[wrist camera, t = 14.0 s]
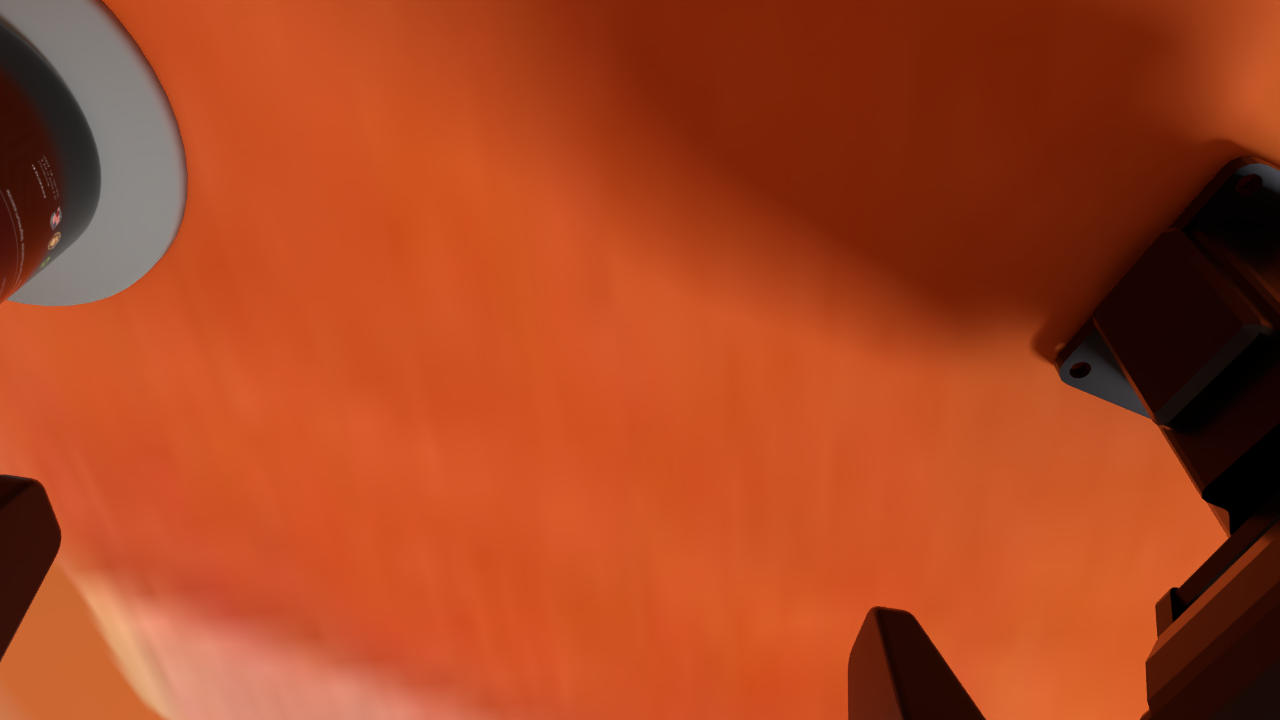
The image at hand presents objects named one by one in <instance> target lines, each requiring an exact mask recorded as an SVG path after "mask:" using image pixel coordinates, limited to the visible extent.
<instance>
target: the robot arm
mask: <svg viewBox="0 0 1280 720" xmlns="http://www.w3.org/2000/svg"><path fill="white" fill-rule="evenodd" d="M1250 174H1253V178H1252V180H1251V181H1250V182H1249V183H1248V184H1247V185H1245V186H1244V187H1240V188H1236V185H1237V184H1238V182H1239V180H1240V179H1242V178H1243V177H1244V176H1246V175H1250ZM1079 362H1085V364H1084V365H1083V366H1081V367H1080V368H1077V369H1071V367H1072V366H1073V365H1075V364H1076V363H1079ZM1055 368H1056V370H1057V372H1058V374H1059V376H1060V378H1061V380H1062V381H1063V382H1064V383H1066V384H1067V385H1070V386H1072V387H1075V388H1077V389H1080V390H1082V391H1084V392H1087V393H1089V394H1092V395H1094V396H1097V397H1099V398H1101V399H1104V400H1106V401H1109V402H1111V403H1114V404H1116V405H1118V406H1121V407H1123V408H1126V409H1128V410H1131V411H1133V412H1135V413H1138V414H1140V415H1143V416H1145V417H1148V418H1150V419H1152V421H1153V422H1154V423H1155V424H1156V425H1158V427H1159V428H1160V430H1161V432H1162V433H1163V435H1164V437H1165V438H1166V440H1167V442H1168V443H1169V445H1170V446H1171V448H1172V450H1173V451H1174V453H1175V455H1176V456H1177V458H1178V460H1179V461H1180V463H1181V465H1182V466H1183V468H1184V469H1185V471H1186V473H1187V474H1188V476H1189V478H1190V479H1191V481H1192V483H1193V484H1194V486H1195V488H1196V489H1197V491H1198V492H1199V494H1200V496H1201V497H1202V499H1204V500H1205V501H1206V502H1207V503H1208V505H1209V507H1210V508H1211V510H1212V512H1213V513H1214V515H1215V516H1216V518H1217V520H1218V521H1219V523H1220V525H1221V526H1222V528H1223V530H1224V531H1225V533H1226V534H1227V536H1228V539H1227V540H1226V541H1225V542H1224V543H1223V544H1222V545H1221V546H1220V547H1219V548H1218V550H1217V551H1216V552H1215V553H1214V554H1213V555H1212V556H1211V557H1210V558H1209V559H1208V560H1207V561H1206V562H1205V563H1204V564H1203V565H1202V566H1201V567H1200V568H1199V569H1198V570H1197V571H1196V572H1195V573H1194V574H1193V575H1192V576H1191V577H1190V578H1189V579H1188V580H1187V581H1186V582H1185V583H1184V584H1183V585H1182V586H1181V587H1180V588H1175V587H1173V588H1171V589H1170V590H1169V591H1168V592H1167V593H1166V594H1165V595H1164V596H1163V597H1162V598H1161V599H1160V600H1159V601H1158V602H1157V603H1156V606H1155V608H1156V622H1157V636H1158V640H1157V641H1156V643H1155V645H1154V647H1153V649H1152V651H1151V653H1150V655H1149V657H1148V659H1147V661H1146V682H1147V702H1148V705H1149V710H1148V711H1146V712H1145V713H1144V714H1143V715H1142V717H1141V719H1140V720H1280V168H1279V167H1277V166H1275V165H1273V164H1270V163H1268V162H1266V161H1264V160H1262V159H1260V158H1258V157H1253V156H1244V157H1239V158H1237V159H1235V160H1232V161H1230V162H1229V163H1228V164H1227V165H1225V166H1224V167H1223V168H1222V169H1221V170H1220V171H1219V172H1218V173H1217V175H1216V176H1215V177H1214V178H1213V179H1212V180H1211V181H1210V183H1209V184H1208V185H1207V186H1206V187H1205V188H1204V189H1203V190H1202V192H1201V193H1200V194H1199V195H1198V196H1197V197H1196V198H1195V200H1194V201H1193V202H1192V203H1191V204H1190V205H1189V206H1188V208H1187V209H1186V210H1185V211H1184V212H1183V213H1182V214H1181V215H1180V217H1179V218H1178V219H1177V220H1176V221H1175V222H1174V223H1173V225H1172V226H1171V227H1170V228H1169V229H1168V230H1167V231H1166V232H1164V233H1162V234H1161V235H1160V236H1159V237H1158V238H1157V240H1156V241H1155V242H1154V243H1153V244H1152V245H1151V246H1150V248H1149V249H1148V250H1147V251H1146V252H1145V253H1144V254H1143V256H1142V257H1141V258H1140V259H1139V260H1138V261H1137V262H1136V264H1135V265H1134V266H1133V267H1132V268H1131V269H1130V270H1129V272H1128V273H1127V274H1126V275H1125V276H1124V277H1123V278H1122V279H1121V281H1120V282H1119V283H1118V284H1117V285H1116V286H1115V287H1114V289H1113V290H1112V291H1111V292H1110V293H1109V294H1108V295H1107V297H1106V298H1105V299H1104V300H1103V301H1102V302H1101V303H1100V305H1099V306H1098V307H1097V308H1096V309H1095V310H1094V312H1093V316H1092V317H1091V318H1090V319H1089V320H1088V321H1087V322H1086V324H1085V325H1084V326H1083V327H1082V328H1081V329H1080V330H1079V332H1078V333H1077V334H1076V335H1075V336H1074V337H1073V338H1072V339H1071V341H1070V342H1069V343H1068V344H1067V345H1066V346H1065V347H1064V349H1063V350H1062V351H1061V352H1060V353H1059V354H1058V356H1057V358H1056V359H1055ZM60 543H61V530H60V526H59V524H58V521H57V519H56V516H55V513H54V511H53V508H52V506H51V503H50V501H49V498H48V495H47V493H46V490H45V488H44V486H43V485H42V484H41V483H40V482H39V481H37V480H35V479H32V478H25V477H19V476H12V475H0V662H1V660H2V658H3V656H4V654H5V652H6V650H7V648H8V647H9V645H10V643H11V641H12V639H13V637H14V635H15V633H16V631H17V629H18V628H19V626H20V624H21V622H22V619H23V618H24V616H25V614H26V612H27V610H28V609H29V606H30V605H31V603H32V601H33V599H34V597H35V595H36V593H37V591H38V589H39V588H40V586H41V584H42V582H43V580H44V578H45V576H46V574H47V572H48V570H49V568H50V567H51V565H52V563H53V561H54V559H55V557H56V555H57V553H58V550H59V547H60ZM848 720H986V719H985V718H984V716H983V715H982V713H981V712H980V710H979V709H978V708H977V706H976V705H975V703H974V702H973V700H972V699H971V697H970V696H969V695H968V693H967V692H966V690H965V689H964V687H963V686H962V684H961V683H960V682H959V680H958V679H957V677H956V676H955V674H954V673H953V671H952V670H951V669H950V667H949V666H948V664H947V663H946V661H945V660H944V659H943V657H942V656H941V654H940V653H939V651H938V650H937V648H936V647H935V646H934V644H933V643H932V641H931V640H930V638H929V637H928V635H927V634H926V633H925V631H924V630H923V628H922V627H921V625H920V624H919V622H918V621H917V620H916V618H915V617H914V616H913V615H912V614H911V613H909V612H908V611H905V610H900V609H893V608H887V607H880V606H875V607H873V608H871V609H870V610H869V612H868V613H867V615H866V618H865V620H864V622H863V625H862V627H861V629H860V631H859V634H858V636H857V638H856V641H855V643H854V645H853V647H852V650H851V653H850V657H849V663H848Z"/></svg>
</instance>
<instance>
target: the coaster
mask: <svg viewBox="0 0 1280 720" xmlns="http://www.w3.org/2000/svg"><path fill="white" fill-rule="evenodd" d="M0 22H2V23H3V24H5V25H6V26H7V27H9V28H10V29H12V30H13V31H14V32H15V33H17V34H18V35H19V36H20V37H21V38H23V39H24V40H25V41H26V42H27V43H28V44H30V45H31V46H32V47H33V48H34V49H35V50H36V51H37V52H38V53H39V54H40V55H41V56H42V57H43V58H44V59H45V60H46V61H47V62H48V63H49V64H50V65H51V67H52V68H53V69H54V70H55V71H56V73H57V74H58V75H59V76H60V77H61V79H62V80H63V81H64V83H65V84H66V85H67V87H68V88H69V90H70V91H71V93H72V94H73V96H74V97H75V99H76V100H77V102H78V104H79V105H80V107H81V109H82V111H83V113H84V115H85V117H86V119H87V121H88V123H89V126H90V128H91V130H92V133H93V136H94V139H95V142H96V145H97V150H98V154H99V158H100V165H101V193H100V199H99V203H98V207H97V209H96V212H95V215H94V217H93V219H92V221H91V222H90V224H89V226H88V228H87V229H86V230H85V231H84V233H83V234H82V235H81V236H80V237H79V238H78V239H77V240H76V241H75V242H74V243H73V244H72V245H71V246H70V247H69V248H68V249H66V250H65V251H64V252H63V253H62V254H61V255H59V256H58V257H57V258H56V259H55V260H54V261H52V262H51V263H50V264H49V265H48V266H47V267H46V268H44V269H43V270H42V271H41V272H39V273H38V274H37V275H36V276H35V277H33V278H32V279H31V280H30V281H28V282H27V283H26V284H25V285H24V286H22V287H21V288H20V289H19V290H18V291H16V292H15V293H14V294H13V295H11V296H10V297H9V298H8V299H7V300H9V301H14V302H19V303H23V304H33V305H43V306H70V305H77V304H84V303H90V302H94V301H97V300H100V299H104V298H107V297H110V296H112V295H114V294H116V293H118V292H120V291H122V290H124V289H126V288H128V287H129V286H131V285H132V284H133V283H135V282H136V281H137V280H139V279H140V278H141V277H142V276H144V275H145V274H146V273H147V272H148V271H149V270H150V269H151V268H152V267H153V266H154V265H155V264H156V263H157V262H158V261H159V260H160V259H161V258H162V257H163V255H164V254H165V253H166V252H167V251H168V249H169V247H170V246H171V244H172V242H173V241H174V239H175V237H176V236H177V233H178V230H179V228H180V225H181V222H182V220H183V216H184V211H185V205H186V200H187V166H186V158H185V150H184V146H183V142H182V138H181V134H180V131H179V127H178V123H177V120H176V118H175V115H174V113H173V110H172V107H171V105H170V102H169V100H168V97H167V95H166V93H165V91H164V89H163V87H162V85H161V83H160V81H159V79H158V78H157V76H156V74H155V72H154V70H153V68H152V66H151V65H150V63H149V62H148V60H147V59H146V57H145V56H144V54H143V52H142V51H141V49H140V48H139V46H138V45H137V43H136V42H135V40H134V39H133V38H132V36H131V35H130V34H129V33H128V31H127V30H126V29H125V27H124V26H123V25H122V24H121V22H120V21H119V20H118V19H117V17H116V16H115V15H114V13H113V12H112V11H111V10H110V9H109V8H108V7H107V6H106V5H105V4H104V3H103V2H102V1H101V0H0Z"/></svg>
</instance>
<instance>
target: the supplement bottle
mask: <svg viewBox="0 0 1280 720" xmlns="http://www.w3.org/2000/svg"><path fill="white" fill-rule="evenodd" d="M100 193H101V165H100V158H99V154H98V150H97V145H96V142H95V139H94V136H93V133H92V130H91V128H90V126H89V123H88V121H87V119H86V117H85V115H84V113H83V111H82V109H81V107H80V105H79V104H78V102H77V100H76V99H75V97H74V96H73V94H72V93H71V91H70V90H69V88H68V87H67V85H66V84H65V83H64V81H63V80H62V79H61V77H60V76H59V75H58V74H57V73H56V71H55V70H54V69H53V68H52V67H51V65H50V64H49V63H48V62H47V61H46V60H45V59H44V58H43V57H42V56H41V55H40V54H39V53H38V52H37V51H36V50H35V49H34V48H33V47H32V46H31V45H30V44H28V43H27V42H26V41H25V40H24V39H23V38H21V37H20V36H19V35H18V34H17V33H15V32H14V31H13V30H12V29H10V28H9V27H7V26H6V25H5V24H3V23H2V22H0V304H2V303H3V302H4V301H5V300H7V299H8V298H9V297H10V296H11V295H13V294H14V293H15V292H16V291H18V290H19V289H20V288H21V287H22V286H24V285H25V284H26V283H27V282H28V281H30V280H31V279H32V278H33V277H35V276H36V275H37V274H38V273H39V272H41V271H42V270H43V269H44V268H46V267H47V266H48V265H49V264H50V263H51V262H52V261H54V260H55V259H56V258H57V257H58V256H59V255H61V254H62V253H63V252H64V251H65V250H66V249H68V248H69V247H70V246H71V245H72V244H73V243H74V242H75V241H76V240H77V239H78V238H79V237H80V236H81V235H82V234H83V233H84V231H85V230H86V229H87V228H88V226H89V224H90V222H91V221H92V219H93V217H94V215H95V212H96V209H97V207H98V203H99V199H100Z"/></svg>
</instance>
